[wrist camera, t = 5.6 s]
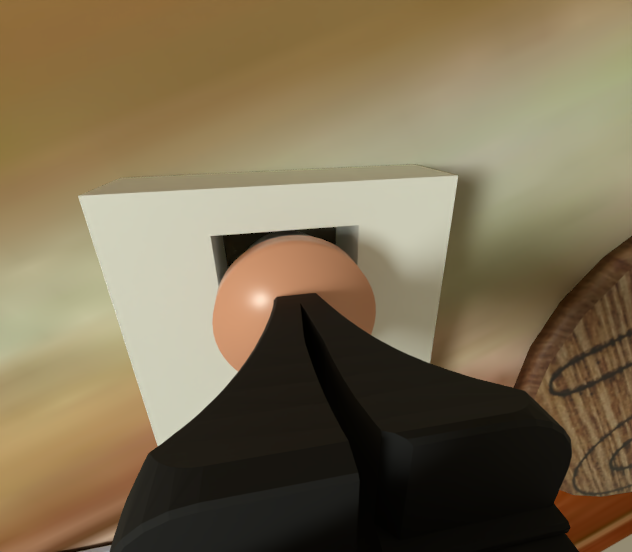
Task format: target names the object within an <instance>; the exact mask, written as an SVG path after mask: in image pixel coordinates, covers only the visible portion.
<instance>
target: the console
mask: <svg viewBox="0 0 632 552" xmlns="http://www.w3.org/2000/svg"><path fill="white" fill-rule="evenodd" d="M457 181H458V175H454V174H450V173H446V172H442V171H439V170H435V169H431V168H427V167H423V166H419V165H415V164H408V165H386V166H365V167H344V168H322V169H301V170H280V171H259V172H237V173H216V174H195V175H173V176H152V177H131V178H119V179H116V180H114V181H112V182H109V183H107V184H105V185H102V186H100V187H98V188H95V189H93V190H91V191H88V192H86V193H84V194H81V195H79V196H78V197H79V200H80V203H81V207H82V210H83V213H84V216H85V219H86V222H87V225H88V229H89V232H90V235H91V238H92V241H93V244H94V247H95V250H96V254H97V257H98V260H99V263H100V266H101V269H102V272H103V276H104V279H105V282H106V285H107V288H108V291H109V294H110V298H111V301H112V304H113V307H114V310H115V313H116V316H117V320H118V323H119V326H120V329H121V332H122V335H123V338H124V342H125V345H126V348H127V351H128V354H129V357H130V360H131V364H132V367H133V370H134V373H135V376H136V379H137V382H138V386H139V389H140V392H141V395H142V398H143V401H144V404H145V407H146V411H147V414H148V417H149V420H150V423H151V426H152V429H153V433H154V436H155V439H156V442H157V445H158V446H159V445H161V444H162V443H163V442H164V441H166V440H167V439H168V438H170V437H171V436H172V435H173V434H175V433H176V432H177V431H179V430H180V429H181V428H182V427H184V426H185V425H186V424H188V423H189V422H190V421H191V420H192V419H193V418H195V417H196V416H197V415H198V414H199V413H200V412H201V411H202V410H203V409H204V408H205V407H206V406H207V405H208V404H209V403H211V402H212V401H213V400H214V399H215V398H216V397H217V396H218V395H219V394H220V392H221V391H222V390H223V389H224V388H225V387H226V386H227V385H228V383H229V382H230V381H231V380H232V379H233V377H234V376H235V375H236V374H237V373H238V371H237V370H236V369H234V368H233V367H232V366H231V365H230V364H229V363H228V362H227V361H226V359H225V358H224V357H223V355H222V354H221V352H220V350H219V348H218V346H217V344H216V341H215V337H214V334H213V325H212V321H213V311H214V306H215V300H216V296H217V291H218V287H219V285H220V282H221V280H222V278H223V276H224V274H225V273H226V271H227V270H228V267H227V260H226V254H225V247H224V240H223V235H232V234H245V233H259V232H272V231H286V230H299V229H313V228H326V227H336V246H338V247H339V248H340V249H342V250H343V251H344V252H346V253H347V254H348V255H349V256H350V257H351V258H352V259H353V261H354V262H355V263H356V265H357V266H358V267H359V269H360V270H361V271H362V273H363V274H364V275H365V277H366V278H367V280H368V282H369V284H370V286H371V288H372V291H373V294H374V298H375V304H376V316H375V323H374V327H373V331H372V333H371V335H372V336H374V337H375V338H377V339H379V340H380V341H382V342H384V343H386V344H388V345H390V346H392V347H394V348H396V349H398V350H400V351H402V352H404V353H406V354H408V355H411V356H413V357H416V358H418V359H420V360H423V361H425V362H428V363H430V360H431V353H432V347H433V340H434V333H435V327H436V320H437V313H438V307H439V300H440V294H441V287H442V280H443V274H444V267H445V260H446V254H447V247H448V240H449V234H450V227H451V220H452V214H453V207H454V201H455V194H456V187H457Z"/></svg>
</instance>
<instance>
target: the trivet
mask: <svg viewBox="0 0 632 552" xmlns="http://www.w3.org/2000/svg"><path fill="white" fill-rule="evenodd" d="M514 388H516V389H520V390H524V391H526V392H527V393H528V394H529V395H530V396H531V397H532V398H533V399H534V400H535V401H536V402H537V403H538V404H539V405H540V406H541V407H542V408H543V409H544V410H545V411H546V412H547V413H548V414H550V415H551V416H552V417H553V418H554V419H555V420H556V421H557V422H558V423H559V424H560V425H561V426H562V427H563V428H564V429H565V431H566V432H567V434H568V435H569V437H570V439H571V446H572V458H571V461H570V465H569V469H568V471H567V474H566V476H565V478H564V480H563V483H562V485H561V487H560V490H562V491H565V492H567V493H570V494H572V495H585V496H608V495H614V494H620V493H627V492H632V236H631V237H630V238H629V239H627V240H626V241H625V242H623V243H622V244H621V245H619V246H618V247H617V248H615V249H614V250H613V251H611V252H610V253H609V254H607V255H606V256H605V257H603V258H602V259H601V260H600V261H599V262H598V263H597V265H596V266H595V267H594V268H593V269H592V270H591V271H590V272H589V273H588V274H587V275H586V276H585V277H584V278H583V279H582V280H581V281H580V282H579V283H578V284H577V285H576V286H575V287H574V289H573V290H572V291H571V292H570V293H569V294H568V295H567V296H566V297H565V298H564V299H563V300H562V301H561V302H560V303H559V305H558V306H557V308H556V309H555V311H554V312H553V314H552V315H551V317H550V318H549V320H548V321H547V323H546V324H545V326H544V327H543V329H542V330H541V332H540V333H539V335H538V336H537V338H536V339H535V341H534V342H533V344H532V345H531V347H530V349H529V351H528V354H527V356H526V359H525V361H524V363H523V366H522V368H521V371H520V373H519V376H518V378H517V381H516V383H515V386H514Z"/></svg>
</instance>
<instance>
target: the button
mask: <svg viewBox="0 0 632 552" xmlns="http://www.w3.org/2000/svg"><path fill="white" fill-rule="evenodd" d="M308 293H316V294H317V295H319V296H320V297H321V298H322V299H323V300H325V301H326V302H327V303H328V304H329V305H330V306H332V307H333V308H334V309H335V310H336V311H338V312H339V313H340V314H341V315H343V316H344V317H345V318H347V319H348V320H349V321H351V322H352V323H354V324H355V325H356V326H358V327H359V328H361V329H363V330H364V331H366V332H367V333H369V334H370V335H371V333H372V331H373V327H374V323H375V316H376V304H375V298H374V294H373V291H372V288H371V286H370V284H369V282H368V280H367V278H366V277H365V275H364V274H363V273H362V271H361V270H360V269H359V267H358V266H357V265H356V263H355V262H354V261H353V259H352V258H351V257H350V256H349V255H348V254H347V253H346V252H344V251H343V250H342V249H340V248H339V247H338V246H336V245H334V244H332V243H330V242H328V241H325V240H323V239H320V238H316V237H312V236H310V235H307V234H305V233H302V232H298V231H277V232H273V233H270V234H267V235H265V236H263V237H261V238H260V239H258V240H257V241H255V242H254V243H253V244H252V245H251V246H250V247H249V248H248V249H247V250H246V251H245V252H244V253H243V254H241V255H240V256H239V257H238V258H237V259H236V260H235V261H234V262H233V263H232V264H231V266H230V267H229V268H228V270H227V271H226V273H225V274H224V276H223V278H222V280H221V282H220V285H219V287H218V291H217V296H216V300H215V306H214V311H213V321H212V325H213V334H214V337H215V341H216V344H217V346H218V348H219V350H220V352H221V354H222V355H223V357H224V358H225V359H226V361H227V362H228V363H229V364H230V365H231V366H232V367H233V368H234V369H236V370H237V371H239V370H240V369H241V367H242V366H243V364H244V363H245V362H246V360H247V359H248V357H249V356H250V354H251V353H252V351H253V350H254V348H255V346H256V344H257V342H258V341H259V339H260V337H261V335H262V333H263V331H264V329H265V327H266V324H267V322H268V320H269V317H270V315H271V312H272V308H273V303H274V301H273V300H274V299H275V298H276V297H280V296H289V295H299V294H308Z"/></svg>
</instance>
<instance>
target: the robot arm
mask: <svg viewBox="0 0 632 552" xmlns="http://www.w3.org/2000/svg"><path fill="white" fill-rule="evenodd" d="M273 301H274V303H273V308H272V312H271V315H270V317H269V320H268V322H267V324H266V327H265V329H264V331H263V333H262V335H261V337H260V339H259V341H258V342H257V344H256V346H255V348H254V350H253V351H252V353H251V354H250V356H249V357H248V359H247V360H246V362H245V363H244V364H243V366H242V367H241V369H240V370H239V371H238V373H237V374H236V375H235V376H234V377H233V379H232V380H231V381H230V382H229V383H228V385H227V386H226V387H225V388H224V389H223V390H222V391H221V392H220V394H219V395H218V396H217V397H216V398H215V399H214V400H213V401H212V402H211V403H209V404H208V405H207V406H206V407H205V408H204V409H203V410H202V411H201V412H200V413H199V414H198V415H197V416H196V417H195V418H193V419H192V420H191V421H190V422H189V423H188V424H186V425H185V426H184V427H182V428H181V429H180V430H179V431H177V432H176V433H175V434H173V435H172V436H171V437H170V438H168V439H167V440H166V441H164V442H163V443H162V444H161V445H159V446H158V447H157V448H155V449H154V450H152V451H151V452H150V453H149V454H148V455H147V457H146V459H145V461H144V463H143V466H142V468H141V470H140V472H139V474H138V476H137V478H136V480H135V483H134V485H133V487H132V489H131V491H130V493H129V496H128V498H127V500H126V503H125V506H124V508H123V511H122V514H121V517H120V520H119V523H118V526H117V529H116V533H115V536H114V539H113V542H112V545H108V546H103V547H98V548H93V549H88V550H83V551H78V552H579V551H578V550H577V548H576V547H575V546H574V544H573V543H572V542H571V541H570V539H569V538H568V537H567V535H566V534H565V533H567V532H568V531H569V529H570V526H569V523H568V521H567V519H566V518H565V517H564V516H563V514H562V513H561V512H560V511H559V509H558V508H557V507H556V506H555V504H554V501H555V498H556V496H557V494H558V492H559V489H560V487H561V485H562V483H563V480H564V478H565V476H566V474H567V471H568V469H569V465H570V461H571V458H572V446H571V439H570V437H569V435H568V434H567V432H566V431H565V429H564V428H563V427H562V426H561V425H560V424H559V423H558V422H557V421H556V420H555V419H554V418H553V417H552V416H551V415H550V414H548V413H547V412H546V411H545V410H544V409H543V408H542V407H541V406H540V405H539V404H538V403H537V402H536V401H535V400H534V399H533V398H532V397H531V396H530V395H529V394H528V393H527V392H526V391H524V390H520V389H516V388H512V387H508V386H504V385H500V384H495V383H491V382H487V381H483V380H479V379H475V378H472V377H469V376H465V375H462V374H459V373H456V372H453V371H450V370H447V369H444V368H441V367H438V366H436V365H433V364H430V363H428V362H425V361H423V360H420V359H418V358H416V357H413V356H411V355H408V354H406V353H404V352H402V351H400V350H398V349H396V348H394V347H392V346H390V345H388V344H386V343H384V342H382V341H380V340H379V339H377V338H375V337H374V336H372V335H370V334H369V333H367V332H366V331H364V330H363V329H361V328H359V327H358V326H356V325H355V324H354V323H352V322H351V321H349V320H348V319H347V318H345V317H344V316H343V315H341V314H340V313H339V312H338V311H336V310H335V309H334V308H333V307H332V306H330V305H329V304H328V303H327V302H326V301H325V300H323V299H322V298H321V297H320V296H319V295H317V294H316V293H308V294H299V295H289V296H280V297H276V298H275V299H274V300H273Z"/></svg>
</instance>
